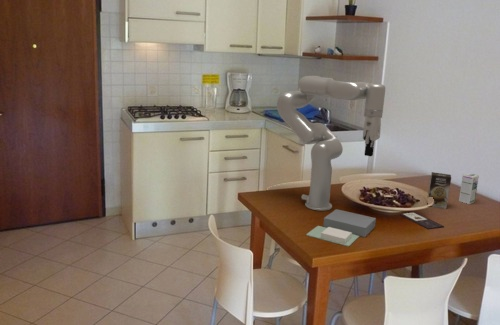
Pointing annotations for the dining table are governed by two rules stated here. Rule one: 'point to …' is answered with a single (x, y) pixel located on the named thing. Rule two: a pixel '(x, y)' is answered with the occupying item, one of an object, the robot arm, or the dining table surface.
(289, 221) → the dining table surface
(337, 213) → the block
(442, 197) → the coffee box
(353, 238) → the mat
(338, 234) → the tile
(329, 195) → the robot arm
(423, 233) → the dining table surface
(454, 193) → the dining table surface
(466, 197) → the syrup box
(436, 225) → the chocolate bar
